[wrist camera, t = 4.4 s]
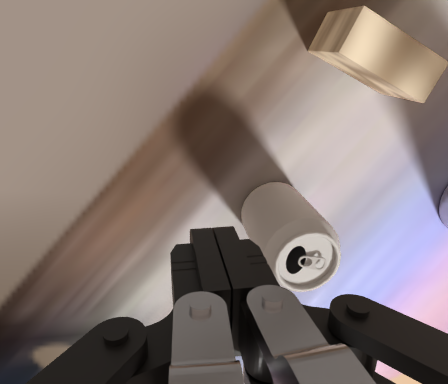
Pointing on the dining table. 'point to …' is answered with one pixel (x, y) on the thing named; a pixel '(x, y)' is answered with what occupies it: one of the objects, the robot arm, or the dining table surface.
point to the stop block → (377, 54)
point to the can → (291, 236)
